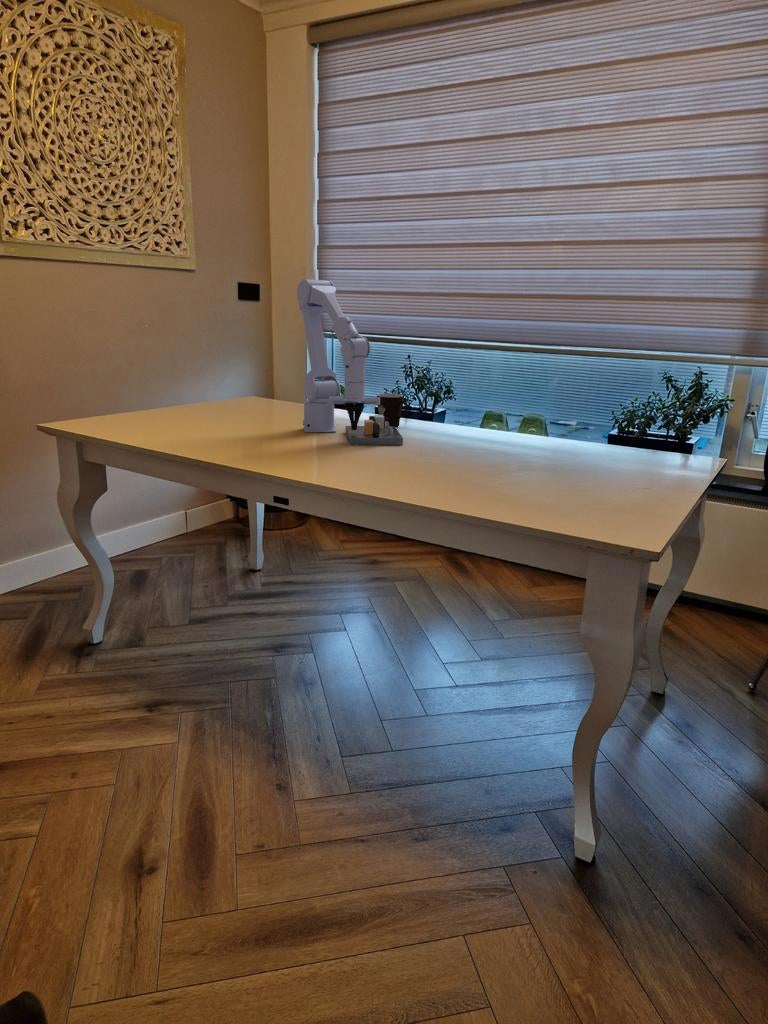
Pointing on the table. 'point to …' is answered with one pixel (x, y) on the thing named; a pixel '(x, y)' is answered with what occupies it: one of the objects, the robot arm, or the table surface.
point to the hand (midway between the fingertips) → (353, 429)
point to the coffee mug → (391, 408)
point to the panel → (369, 440)
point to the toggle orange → (368, 427)
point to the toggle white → (380, 420)
